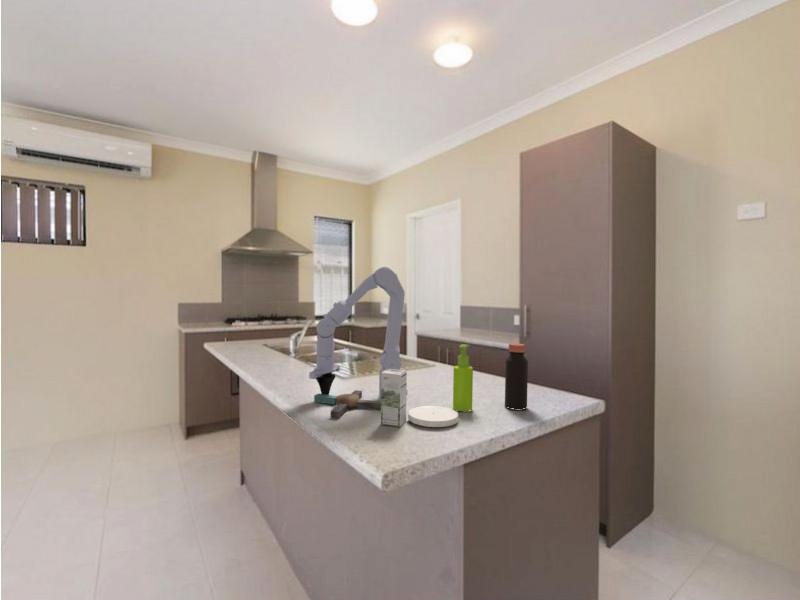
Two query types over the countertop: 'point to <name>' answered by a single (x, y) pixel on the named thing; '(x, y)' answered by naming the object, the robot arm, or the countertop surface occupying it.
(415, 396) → the countertop surface
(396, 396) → the syrup box
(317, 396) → the teal rectangular block
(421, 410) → the plastic lid
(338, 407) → the grey brown t-shaped piece
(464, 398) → the soap dispenser
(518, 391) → the bottle
